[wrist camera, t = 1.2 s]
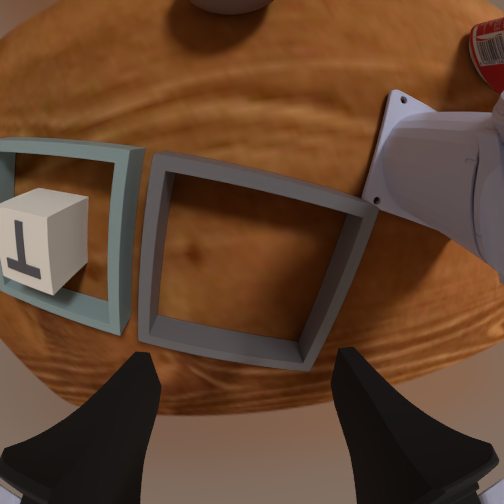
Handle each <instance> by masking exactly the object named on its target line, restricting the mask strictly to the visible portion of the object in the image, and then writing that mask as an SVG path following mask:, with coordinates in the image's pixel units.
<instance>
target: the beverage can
mask: <svg viewBox="0 0 504 504" xmlns="http://www.w3.org/2000/svg"><path fill="white" fill-rule="evenodd" d="M469 52H470V56H471V59H472V62H473V64H474V66H475V68H476V70H477V72H478V73H479V75H480V76H481V77H482V78H483V80H484V81H485V82H487V83H488V84H489V86H490V87H491V88H492V89H494V90H495V91H496V92H498V93H499V94H501V93H502V92H503V91H504V17H503V18H499V19H495V20H491V21H488V22H484V23H481V24H477V25H475V26H474V27H473V28H472V29H471V32H470V41H469Z"/></svg>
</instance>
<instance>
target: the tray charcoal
mask: <svg viewBox="0 0 504 504" xmlns="http://www.w3.org/2000/svg"><path fill="white" fill-rule="evenodd" d="M175 173H180V174H185V175H191V176H196V177H201V178H206V179H211V180H216V181H221V182H225V183H230V184H235V185H239V186H244V187H248V188H252V189H257V190H261V191H265V192H269V193H274V194H278V195H282V196H286V197H290V198H294V199H298V200H301V201H305V202H309V203H313V204H316V205H320V206H324V207H327V208H331V209H335V210H338V211H342V212H345V213H347V215H346V218H345V221H344V224H343V227H342V230H341V233H340V236H339V238H338V241H337V244H336V247H335V250H334V253H333V255H332V258H331V261H330V264H329V266H328V269H327V272H326V274H325V277H324V280H323V282H322V285H321V287H320V290H319V293H318V295H317V298H316V300H315V303H314V305H313V308H312V310H311V312H310V315H309V317H308V320H307V322H306V324H305V327H304V329H303V332H302V334H301V336H300V339H299V341H292V340H285V339H278V338H271V337H265V336H259V335H253V334H247V333H241V332H236V331H230V330H225V329H220V328H215V327H210V326H205V325H200V324H196V323H191V322H186V321H182V320H178V319H173V318H169V317H165V316H161V315H158V305H159V292H160V281H161V271H162V261H163V252H164V244H165V236H166V228H167V221H168V214H169V208H170V201H171V195H172V189H173V183H174V177H175ZM379 209H380V208H378V207H377V206H375V205H373V204H372V203H370V202H368V201H366V200H363V199H362V198H360V197H357V196H354V195H351V194H347V193H344V192H341V191H338V190H334V189H331V188H327V187H324V186H321V185H317V184H314V183H310V182H306V181H303V180H299V179H295V178H291V177H288V176H284V175H280V174H276V173H272V172H268V171H264V170H259V169H255V168H251V167H246V166H242V165H237V164H233V163H228V162H223V161H219V160H214V159H209V158H203V157H198V156H193V155H187V154H182V153H176V152H170V151H164V152H159V153H154V155H153V160H152V166H151V172H150V179H149V185H148V192H147V200H146V208H145V216H144V225H143V236H142V247H141V260H140V276H139V300H138V341H140V342H144V343H148V344H152V345H156V346H160V347H164V348H168V349H172V350H177V351H181V352H186V353H190V354H195V355H200V356H205V357H210V358H215V359H220V360H226V361H232V362H238V363H244V364H250V365H257V366H264V367H272V368H280V369H288V370H298V371H308V372H310V370H311V368H312V366H313V364H314V362H315V360H316V358H317V356H318V354H319V352H320V350H321V348H322V346H323V344H324V342H325V340H326V338H327V336H328V334H329V332H330V330H331V328H332V326H333V324H334V321H335V319H336V317H337V315H338V313H339V311H340V308H341V306H342V304H343V302H344V299H345V297H346V295H347V293H348V290H349V288H350V285H351V283H352V281H353V278H354V276H355V273H356V271H357V269H358V266H359V264H360V261H361V258H362V256H363V253H364V251H365V248H366V245H367V243H368V240H369V237H370V235H371V232H372V229H373V226H374V223H375V220H376V218H377V215H378V212H379Z"/></svg>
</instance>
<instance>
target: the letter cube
mask: <svg viewBox="0 0 504 504" xmlns="http://www.w3.org/2000/svg"><path fill="white" fill-rule="evenodd" d="M88 201H89V197H87V196H81V195H76V194H70V193H65V192H59V191H53V190H47V189H42V188H37V189H34V190H32V191H29V192H26V193H24V194H21V195H19V196H16V197H14V198H11V199H9V200H7V201H4V202H2V203H0V260H1V266H2V272H3V276H5V277H7V278H10V279H12V280H14V281H17V282H19V283H22V284H24V285H27V286H29V287H32V288H34V289H37V290H40V291H42V292H45V293H48V294H50V295H54V294H55V293H56V292H57V291H58V290H59V289H60V288H61V287H62V286H63V285H64V284H65V283H66V282H67V281H68V280H69V279H70V278H71V277H72V276H73V275H75V274H76V273H77V272H78V271H79V270H80V269H81V268H82V267H83V266H84V265H85V264H86V263H87V262H88V261H87V225H88Z"/></svg>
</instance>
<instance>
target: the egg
mask: <svg viewBox="0 0 504 504" xmlns="http://www.w3.org/2000/svg"><path fill="white" fill-rule="evenodd" d="M189 1H190V2H191V3H192V4H194V5H195V6H197V7H199V8H201V9H203V10H205V11H208V12H212V13H217V14H225V15H235V14H243V13H248V12H252V11H255V10H258V9H260V8H262V7H264V6H266V5H268V4H269V3H271V2H272V1H273V0H189Z"/></svg>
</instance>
